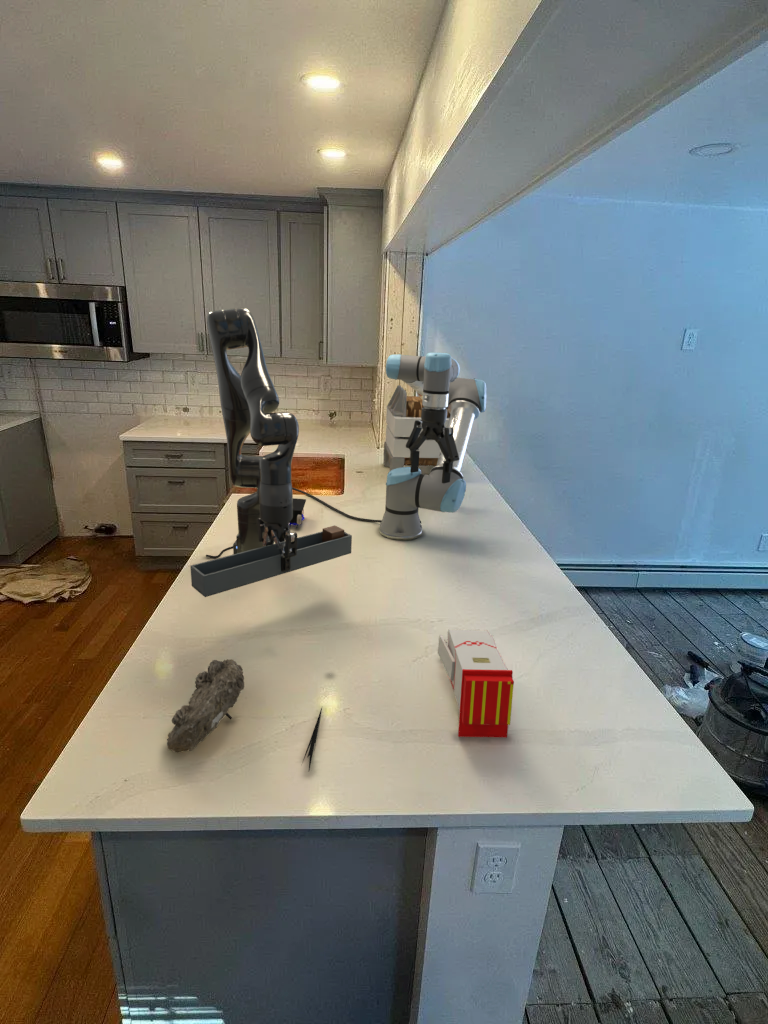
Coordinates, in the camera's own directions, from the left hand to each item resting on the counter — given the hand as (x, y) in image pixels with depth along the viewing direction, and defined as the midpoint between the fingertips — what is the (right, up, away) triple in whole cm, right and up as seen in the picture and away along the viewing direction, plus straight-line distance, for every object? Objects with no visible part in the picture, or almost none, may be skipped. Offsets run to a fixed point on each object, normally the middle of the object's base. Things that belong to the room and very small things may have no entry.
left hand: (277, 565), depth 136 cm
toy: (+43, -25, -17) cm, 53 cm away
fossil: (-7, -26, -28) cm, 39 cm away
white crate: (+43, +32, +139) cm, 149 cm away
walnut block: (+12, +3, +11) cm, 16 cm away
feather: (+13, -27, -27) cm, 40 cm away
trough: (0, -1, 0) cm, 1 cm away
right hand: (+40, +23, +38) cm, 59 cm away
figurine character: (-6, +9, +69) cm, 70 cm away
